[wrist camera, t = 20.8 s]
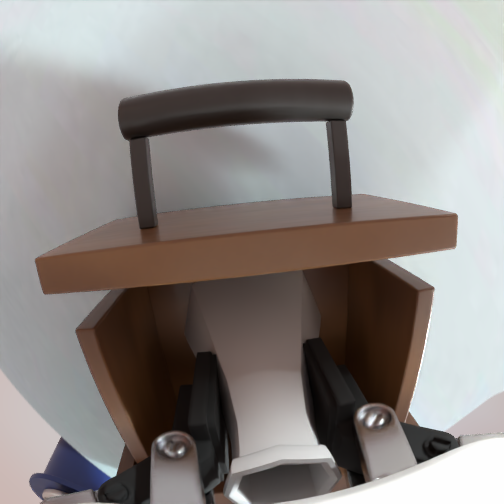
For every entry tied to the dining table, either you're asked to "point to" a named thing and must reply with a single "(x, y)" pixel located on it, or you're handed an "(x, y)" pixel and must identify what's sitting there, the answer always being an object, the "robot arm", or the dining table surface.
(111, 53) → the dining table surface
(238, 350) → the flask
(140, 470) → the robot arm
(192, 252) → the drawer
